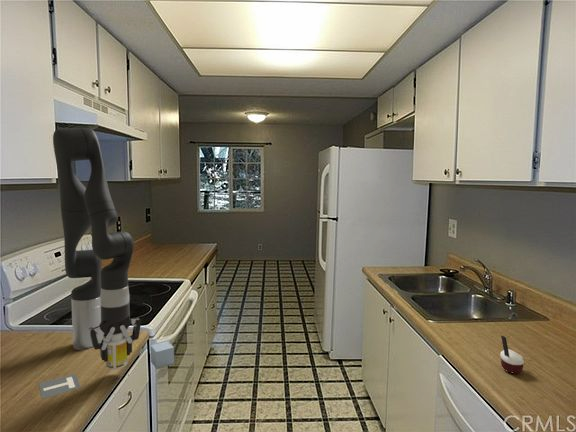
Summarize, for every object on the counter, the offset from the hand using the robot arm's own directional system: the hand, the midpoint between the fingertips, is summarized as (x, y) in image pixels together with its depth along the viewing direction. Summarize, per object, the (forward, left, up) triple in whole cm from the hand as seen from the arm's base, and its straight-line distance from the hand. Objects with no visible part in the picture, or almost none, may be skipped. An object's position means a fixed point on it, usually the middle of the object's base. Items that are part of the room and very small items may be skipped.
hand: (116, 357), depth 110 cm
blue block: (-13, +4, -6) cm, 15 cm away
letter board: (+12, -8, -6) cm, 16 cm away
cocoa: (-68, +100, -6) cm, 121 cm away
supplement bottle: (0, 0, -3) cm, 3 cm away
